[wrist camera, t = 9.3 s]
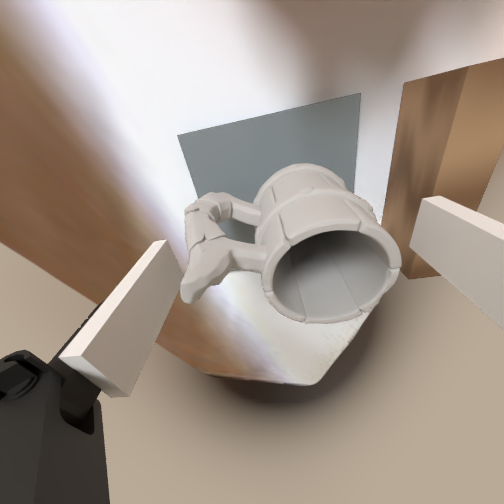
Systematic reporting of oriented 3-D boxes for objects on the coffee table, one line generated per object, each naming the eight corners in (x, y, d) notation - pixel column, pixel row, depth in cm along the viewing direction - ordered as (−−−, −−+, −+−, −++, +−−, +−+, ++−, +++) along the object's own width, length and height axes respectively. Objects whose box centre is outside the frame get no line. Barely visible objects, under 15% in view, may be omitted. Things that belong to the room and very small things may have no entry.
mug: (322, 251, 20) (386, 380, 10) (203, 229, 19) (142, 348, 9) (358, 171, 16) (525, 254, 6) (209, 139, 15) (110, 174, 5)
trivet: (179, 134, 16) (177, 135, 15) (357, 93, 14) (360, 92, 14) (224, 268, 22) (223, 271, 22) (346, 251, 21) (348, 254, 20)
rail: (403, 83, 14) (468, 66, 9) (453, 71, 13) (544, 48, 9) (377, 246, 20) (408, 279, 16) (410, 242, 20) (450, 274, 16)
